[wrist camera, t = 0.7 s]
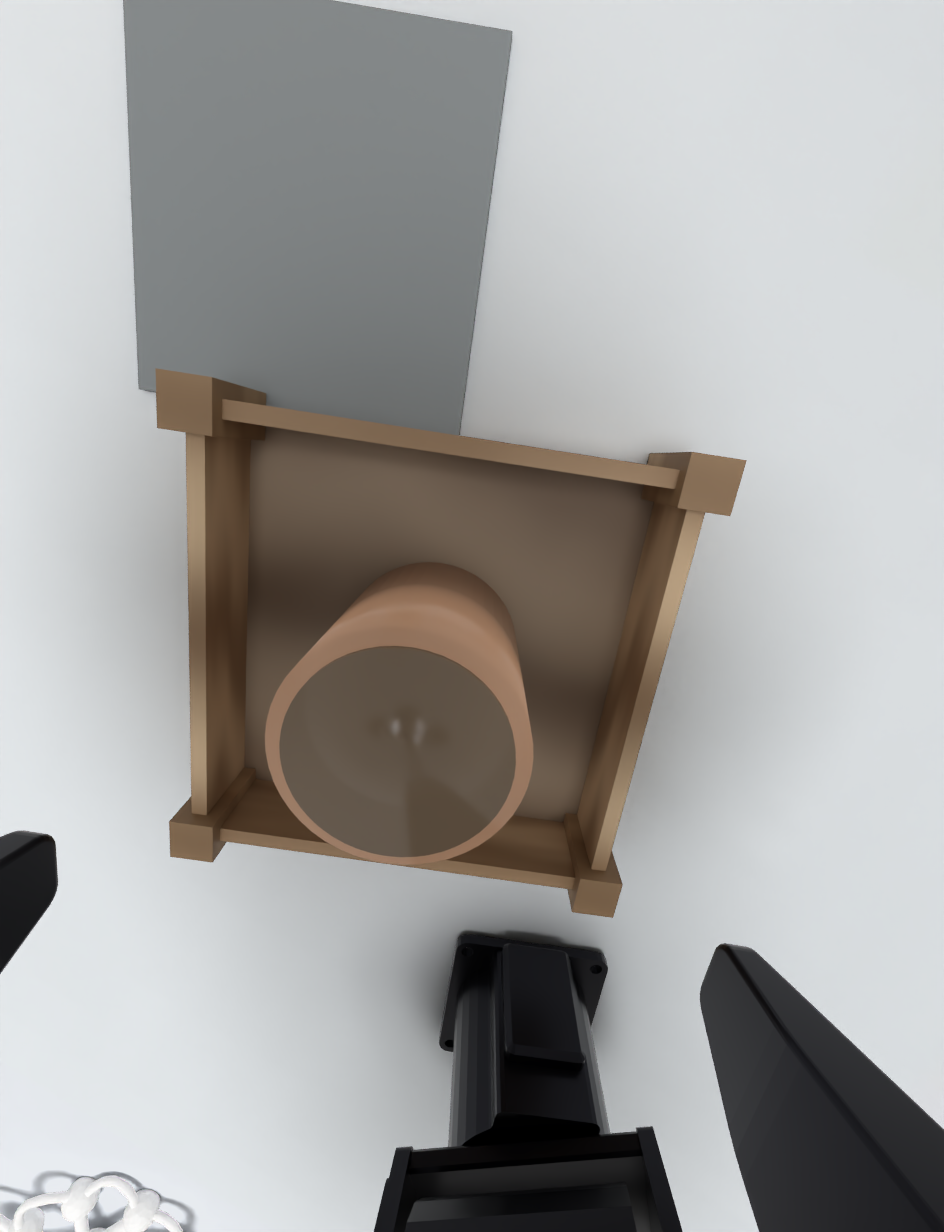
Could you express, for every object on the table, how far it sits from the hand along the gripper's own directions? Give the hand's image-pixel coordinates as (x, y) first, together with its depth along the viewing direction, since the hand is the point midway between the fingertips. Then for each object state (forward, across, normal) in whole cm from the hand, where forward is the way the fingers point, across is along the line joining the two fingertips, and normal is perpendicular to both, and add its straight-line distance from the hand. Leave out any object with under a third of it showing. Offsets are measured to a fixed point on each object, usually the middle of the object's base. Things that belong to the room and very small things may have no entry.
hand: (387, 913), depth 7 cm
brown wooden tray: (+12, +1, 0) cm, 12 cm away
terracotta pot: (+12, +1, 0) cm, 12 cm away
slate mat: (+12, +6, -12) cm, 17 cm away
